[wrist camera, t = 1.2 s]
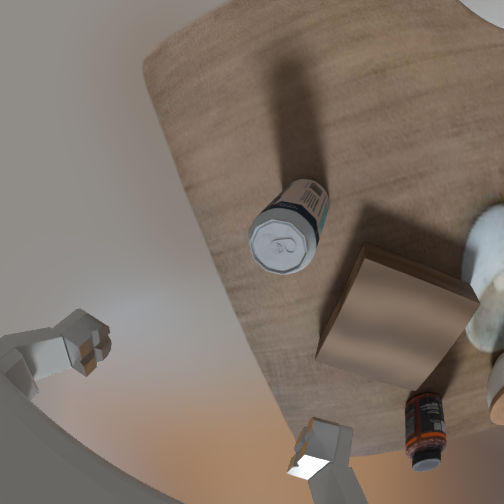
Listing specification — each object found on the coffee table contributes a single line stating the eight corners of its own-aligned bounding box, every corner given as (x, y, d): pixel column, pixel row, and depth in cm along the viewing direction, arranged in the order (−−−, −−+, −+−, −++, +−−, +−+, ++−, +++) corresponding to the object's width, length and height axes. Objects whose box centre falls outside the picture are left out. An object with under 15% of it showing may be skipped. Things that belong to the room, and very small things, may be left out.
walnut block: (364, 241, 30) (364, 258, 27) (470, 284, 27) (480, 303, 24) (319, 338, 37) (314, 360, 33) (413, 369, 34) (415, 391, 31)
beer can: (278, 181, 30) (235, 217, 20) (325, 174, 29) (307, 208, 18) (288, 225, 32) (252, 282, 22) (332, 221, 30) (319, 278, 20)
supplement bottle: (404, 416, 38) (402, 477, 28) (405, 394, 36) (405, 459, 27) (439, 411, 36) (443, 471, 26) (443, 387, 34) (450, 452, 24)
